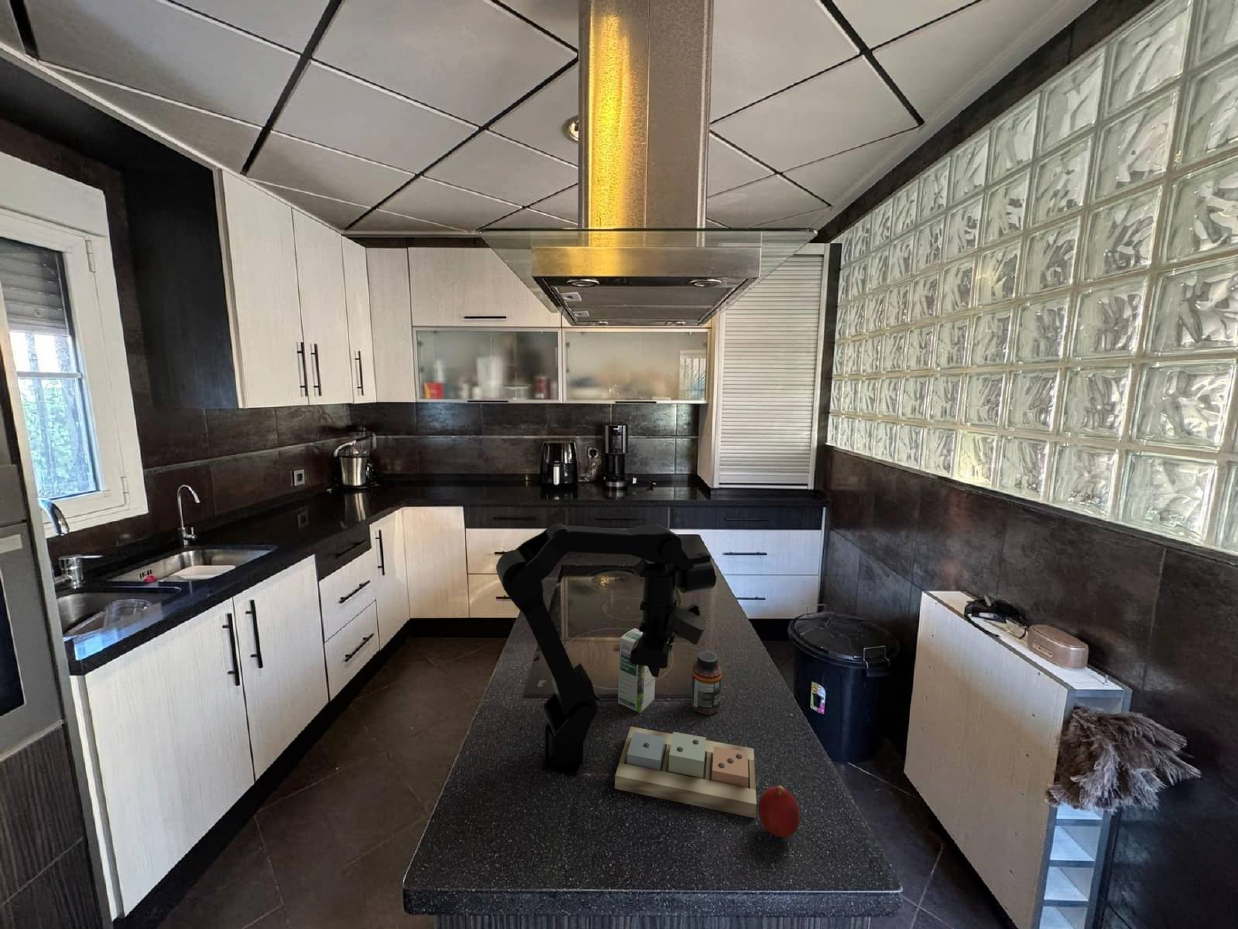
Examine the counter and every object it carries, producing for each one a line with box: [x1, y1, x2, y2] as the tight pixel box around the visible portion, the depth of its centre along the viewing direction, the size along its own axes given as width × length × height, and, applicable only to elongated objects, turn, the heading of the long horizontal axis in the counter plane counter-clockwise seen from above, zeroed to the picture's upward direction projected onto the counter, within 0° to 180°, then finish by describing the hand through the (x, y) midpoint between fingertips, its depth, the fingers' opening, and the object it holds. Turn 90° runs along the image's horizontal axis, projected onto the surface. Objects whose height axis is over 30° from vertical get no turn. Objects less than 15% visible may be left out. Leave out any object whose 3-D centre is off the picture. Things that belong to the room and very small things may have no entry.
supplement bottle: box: [690, 650, 723, 716], centre depth 100 cm, size 6×6×11 cm
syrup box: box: [617, 628, 656, 714], centre depth 101 cm, size 6×6×14 cm
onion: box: [757, 785, 801, 838], centre depth 72 cm, size 6×6×8 cm
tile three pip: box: [712, 746, 748, 788], centre depth 81 cm, size 6×6×3 cm
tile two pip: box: [668, 731, 707, 778], centre depth 82 cm, size 6×6×3 cm
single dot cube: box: [627, 732, 665, 771], centre depth 84 cm, size 6×6×3 cm
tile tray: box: [614, 726, 757, 819], centre depth 83 cm, size 22×12×2 cm, turn 77°
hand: (655, 676), depth 90 cm, fingers closed
